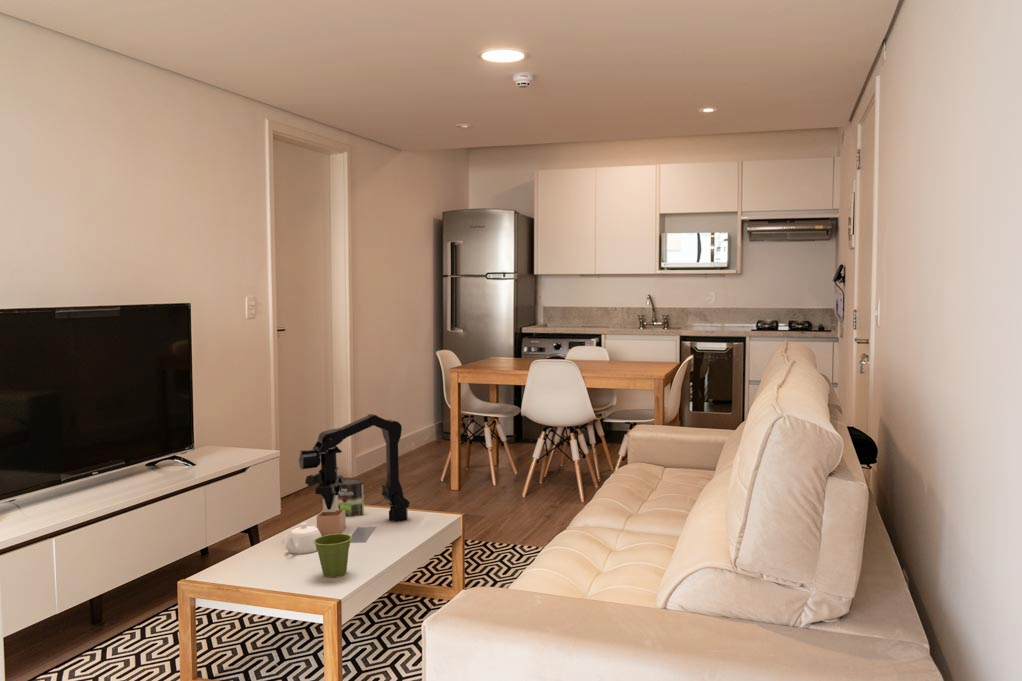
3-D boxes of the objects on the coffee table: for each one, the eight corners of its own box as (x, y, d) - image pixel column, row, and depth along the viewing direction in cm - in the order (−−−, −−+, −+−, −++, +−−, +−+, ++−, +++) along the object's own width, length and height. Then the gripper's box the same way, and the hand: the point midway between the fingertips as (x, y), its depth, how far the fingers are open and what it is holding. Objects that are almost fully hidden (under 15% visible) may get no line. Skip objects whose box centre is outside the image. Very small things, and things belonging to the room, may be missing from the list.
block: (338, 508, 297) (337, 495, 297) (335, 511, 293) (334, 498, 293) (326, 508, 297) (325, 495, 297) (323, 512, 293) (322, 498, 293)
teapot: (307, 562, 264) (306, 532, 263) (273, 561, 266) (272, 531, 266) (333, 544, 283) (332, 516, 283) (301, 543, 286) (300, 515, 285)
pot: (346, 530, 300) (345, 509, 299) (340, 537, 291) (339, 515, 291) (323, 531, 300) (322, 510, 300) (317, 538, 291) (316, 516, 291)
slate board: (376, 529, 299) (376, 526, 299) (365, 545, 280) (365, 542, 280) (357, 530, 300) (357, 527, 300) (345, 546, 280) (345, 542, 280)
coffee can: (356, 520, 314) (355, 484, 313) (333, 519, 317) (332, 483, 317) (369, 513, 324) (367, 479, 323) (346, 512, 327) (345, 478, 326)
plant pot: (337, 565, 260) (335, 531, 259) (361, 572, 252) (359, 537, 252) (307, 575, 251) (305, 540, 250) (331, 583, 243) (329, 546, 242)
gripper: (313, 461, 304) (315, 501, 305) (299, 471, 285) (301, 515, 286) (343, 460, 304) (345, 501, 304) (330, 470, 285) (332, 514, 286)
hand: (330, 507), depth 295 cm, fingers closed on block, 4 cm apart
